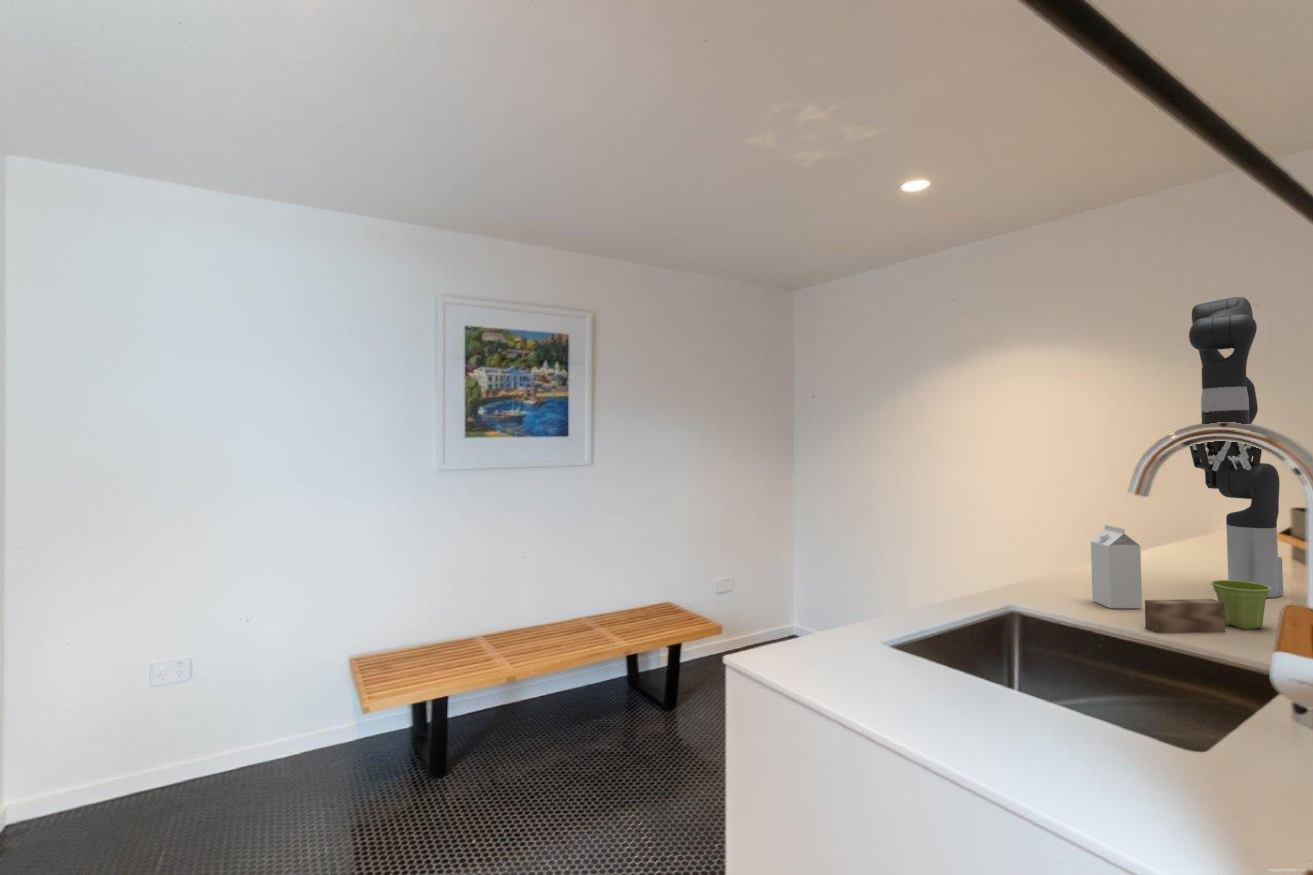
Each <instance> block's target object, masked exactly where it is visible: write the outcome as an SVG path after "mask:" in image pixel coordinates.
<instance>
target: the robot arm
mask: <svg viewBox="0 0 1313 875" xmlns="http://www.w3.org/2000/svg"><path fill="white" fill-rule="evenodd" d="M1191 324H1192V325H1191V327H1190V329H1189V333H1188V339H1189V343H1190V345H1191V346H1192V347H1193V348H1194V349H1195V350H1198V354H1199V357H1200V358H1199V359H1200V361H1201V399H1200V409H1201V412H1200V413H1201V416H1200V417H1201V425H1202V424H1210V423H1217V422H1236V423H1241V424H1251V425H1252V423H1253V422H1254V420H1255V419H1256V417H1257V414H1258V410H1259V408H1258V400H1257V399H1258V398H1257V393H1256V388H1255V385H1254V383H1253V381H1252V380H1251V379H1250V378H1249V377H1248V376H1247V363H1248V357H1249V355H1250V354H1249V353H1250V350H1251V349H1252V348H1251V347H1252V346H1253V342H1254V339H1255V337H1256V334H1257V329H1258V326H1257V322H1256V320H1255V319H1254V314H1253V308H1252V305H1251V302H1250V301H1249V300H1248V299H1247V298H1246V297H1244V296H1235V297H1234V296H1233V297H1228V298H1223V299H1217V300H1212V301H1208V302H1202V303H1199V304H1195V305H1194V306H1193V308H1192V310H1191ZM1227 349H1228V350H1229V349H1233V351H1232V352H1231V354H1230V355H1229V356H1226V357H1225V356H1224V355H1223V354H1222V353H1221V352H1220V351H1219V350H1227ZM1189 449H1190V453H1191V457H1192V458H1191V459H1192V463H1193V466H1194V467H1195V469H1196V468H1197V469H1201V470H1203V471H1204V480H1205V486H1207V487H1206V488H1208V489H1214V490H1215V489H1216V490H1218V492H1219V493H1220V494H1221V495H1222V496H1223V497H1225V498H1231V499H1232V498H1233V499H1242V500H1243V499H1244V500H1251V501H1250V504H1249V506H1248V507H1247V508H1245V509H1242V510H1237V511H1232V512H1229V513H1228V514H1226V516H1225V518H1226V520H1225V522H1226V524H1225V525H1226V527H1225V528H1226V548H1227V549H1226V550H1227V553H1226V554H1227V555H1226V556H1227V557H1226V558H1227V580H1233V581H1244V582H1252V583H1258V584H1263V585H1267V586H1269V587H1271V590H1270V591H1269V593H1268V596H1267V597H1266V599H1267V598H1268V599H1269V598H1271V599H1272V598H1278V597H1283V596H1284V575H1283V573H1284V572H1283V558H1282V557H1281V556H1279V553H1278V552H1279V546H1278V544H1279V543H1278V525H1277V524H1278V523H1277V522H1278V518H1279V513H1280V512H1279V511H1280V510H1279V509H1280V508H1279V507H1280V502H1279V500H1280V483H1281V482H1280V476H1279V472H1278V470H1277V468H1276V467H1275V466H1274V465H1273V464H1271V463H1265V462H1261V457H1262V453H1263V449H1262V450H1261V449H1259V448H1256V447H1254V446H1250V445H1247V444H1242V443H1239V442H1229V441H1214V442H1204V443H1201V444H1195V445H1192V446H1189Z"/></svg>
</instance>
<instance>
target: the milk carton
mask: <svg viewBox="0 0 1313 875" xmlns="http://www.w3.org/2000/svg"><path fill="white" fill-rule="evenodd" d="M1125 530H1126V529H1125V528H1122V527H1117V526H1113V525H1109V524H1108V525H1107V524H1104V529H1103V530H1102V531H1101V532H1100V533H1098V534H1097V535H1096V536H1095V537H1094V538H1092V540H1090V556H1091V558H1090V559H1091V561H1090V563H1091V588H1092V589H1091V592H1092V594H1091V595H1092V601H1093V602H1094V603H1097V604H1098V605H1099V604H1100V605H1102V606H1104V607H1106V608H1108V609H1143V591H1142V590H1143V589H1142V586H1143V585H1142V584H1143V583H1142V559H1141V558H1142V557H1141V556H1142V555H1141V552H1142V551H1141V545H1140V544H1139V543H1138V542H1136V541H1135V540H1134V539H1132V538H1131V536H1128V535H1127V534H1126V532H1125Z"/></svg>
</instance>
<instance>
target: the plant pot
mask: <svg viewBox="0 0 1313 875" xmlns="http://www.w3.org/2000/svg"><path fill="white" fill-rule="evenodd" d="M1210 585H1211V586H1212V587H1213V590H1214V592H1215V593H1216V598H1217V601H1221V602H1224V608H1225V626H1226V625H1227V626H1235V627H1236V628H1238V629H1248V630H1256V629H1261V628H1263V621H1264V617H1265V616H1264V615H1265V608H1266V603H1267V602H1266V601H1267V596H1268V593H1269V591H1270V590H1271V587H1269V586H1267V585H1263V584H1258V583H1252V582H1244V581H1233V580H1228V579H1227V580H1226V579H1225V580H1224V579H1217V580H1216V579H1215V580H1212V581H1210Z"/></svg>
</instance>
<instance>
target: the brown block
mask: <svg viewBox="0 0 1313 875" xmlns="http://www.w3.org/2000/svg"><path fill="white" fill-rule="evenodd" d="M1144 622H1145V629H1146V628H1147V630H1149V631H1151V630H1153V631H1152V632H1153V633H1156V632H1170V633H1208V632H1209V633H1219V632H1222V633H1223V632H1224V633H1225V632H1226V624H1225V608H1224V602H1221V601H1218V599H1213V598H1195V599H1194V598H1189V599H1188V598H1187V599H1185V598H1184V599H1144Z"/></svg>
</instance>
